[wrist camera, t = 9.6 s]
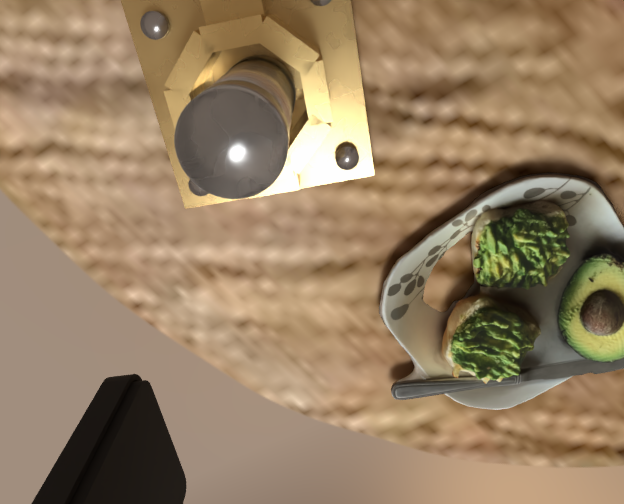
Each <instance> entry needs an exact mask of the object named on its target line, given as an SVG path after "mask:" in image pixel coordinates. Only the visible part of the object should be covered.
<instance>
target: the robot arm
mask: <svg viewBox="0 0 624 504" xmlns="http://www.w3.org/2000/svg"><path fill="white" fill-rule="evenodd" d="M185 493H186V478H185V474H184V471H183V469H182V466H181V464H180V461H179V458H178V456H177V453H176V450H175V448H174V445H173V442H172V440H171V437H170V434H169V432H168V429H167V427H166V424H165V421H164V419H163V416H162V413H161V411H160V408H159V405H158V403H157V400H156V398H155V395H154V392H153V389H152V387H151V385H150V383H149V382H148V381H146V380H145V381H142V379H141V378H140V376H138V375H136V374H133V375H124V376H115V377H109V378H106V379H105V380H104V382H103V383H102V385H101V386H100V388H99V390H98V391H97V393H96V395H95V397H94V398H93V400H92V402H91V403H90V405H89V407H88V408H87V410H86V412H85V414H84V415H83V417H82V419H81V420H80V422H79V424H78V426H77V427H76V429H75V431H74V432H73V434H72V436H71V437H70V439H69V441H68V443H67V444H66V446H65V448H64V450H63V451H62V453H61V455H60V456H59V458H58V460H57V461H56V463H55V465H54V467H53V468H52V470H51V472H50V473H49V475H48V477H47V478H46V480H45V482H44V484H43V485H42V487H41V489H40V491H39V492H38V494H37V495H36V497H35V499H34V501H33V502H32V504H183V501H184V498H185Z"/></svg>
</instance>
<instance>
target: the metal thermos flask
mask: <svg viewBox="0 0 624 504" xmlns="http://www.w3.org/2000/svg"><path fill="white" fill-rule="evenodd" d="M295 99H296V89H295V84H294V81H293V78H292V76H291V74H290V73H289V71H288V70H287V69H286V67H285V66H284V65H283V64H281V63H280V62H279V61H277V60H275V59H273V58H271V57H268V56H263V55H254V56H249V57H246V58H244V59H242V60H240V61H239V62H237V63H236V64H235V65H234V66H233V67H231V68H230V69H229V70H228V71H227V73H226V74H225V75H223V76H222V77H221V78H220V79H219V80H217V81H216V82H215V83H214V84H213V85H211V86H209V87H208V88H206V89H205V90H203V91H202V92H201V93H200V94H199V95H197V96H196V97H195V98H194V99H192V100H191V101H190V102H189V103H188V104H187V105H186V107H185V108H184V109H183V111H182V112H181V114H180V116H179V118H178V121H177V124H176V128H175V134H174V144H175V151H176V155H177V158H178V161H179V163H180V165H181V167H182V169H183V170H184V172H185V173H186V175H187V176H188V177H189V178H190V179H191V181H192V182H193V183H195V184H196V185H197V186H198V187H200V188H201V189H202V190H204V191H206V192H208V193H210V194H212V195H215V196H217V197H221V198H226V199H243V198H248V197H252V196H255V195H257V194H259V193H261V192H263V191H265V190H266V189H267V188H269V187H270V186H271V185H272V184H273V183H274V182H275V181H276V180H277V178H278V177H279V175H280V174H281V172H282V170H283V168H284V165H285V163H286V159H287V153H288V147H289V139H290V126H291V119H292V113H293V110H294V106H295Z"/></svg>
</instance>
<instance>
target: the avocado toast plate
mask: <svg viewBox="0 0 624 504" xmlns="http://www.w3.org/2000/svg"><path fill="white" fill-rule="evenodd" d="M471 231H472V232H473V233H472V239H471V248H472V262H473V271H474V283H473V285H472V286H471V287H470V289H469V290H468V292H467V293H466V295H465V296H464V297H463V299H462V300H457V301H454V302H453V303H452V305H451V306H450V307H449V309H448V310H447V311H446V312H439V311H437V310H435V309H433V308H432V307H430V306H429V305H428V304H426V303H425V302H424V301H423V294H424V288H425V284H426V281H427V279H428V278H429V275H430V273H431V271H432V269H433V267H434V265H435V264H436V262H437V261H438V260H439V259H440V258H441V257H442V256H443V255H444V253H445V252H446V251H447V250H448V249H449V248H450V247H452V246H453V245H454V244H456V243H457V242H458V241H459V240H460V239H461V238H463V237H464V236H465V235H467V234H468V233H469V232H471ZM379 314H380V316H381V318H382V320H383V322H384V324H385V325H386V327H387V328H388V329H389V330H390V331H391V333H392V334H393V336H394V337H395V338H396V339H397V341H398V342H399V344H400V345H401V346H402V347H403V348H404V349H405V351H406V352H407V353H408V354H409V355H410V357H411V359H412V361H413V363H414V366H415V368H414V370H413V372H412V373H411V374H410V375H408V376H406V377H405V378H403V379H400V380H398V381H396V382H395V383H393V385H392V388H391V392H392V396H393V397H394V398H395V399H400V400H406V399H413V398H420V397H427V396H433V395H439V394H445V395H446V396H449V397H450V398H452V399H453V400H455V401H456V402H459V403H461V404H463V405H466V406H470V407H476V408H483V409H495V410H498V409H507V408H510V407H513V406H516V405H518V404H520V403H523V402H525V401H527V400H530V399H532V398H534V397H535V396H537V395H539V394H541V393H543V392H545V391H547V390H548V389H550V388H552V387H554V386H556V385H558V384H560V383H562V382H563V381H565V380H567V379H569V378H570V377H572V376H575V375H583V374H586V373H594V374H598V373H605V372H610V371H615V370H619V369H623V368H624V226H623V225H622V223H621V222H620V220H619V218H618V216H617V214H616V211H615V209H614V207H613V204H612V203H611V202H610V201H609V200H608V198H607V197H606V196H605V194H604V192H603V190H602V189H601V187H600V186H599V185H598V184H597V183H596V182H594V181H592V180H590V179H587V178H584V177H581V176H577V175H570V174H561V173H539V174H531V175H526V176H522V177H519V178H516V179H514V180H511V181H508V182H505V183H503V184H500V185H498V186H496V187H494V188H492V189H490V190H488V191H486V192H484V193H483V194H481V195H480V196H479V197H477V198H476V199H475V200H474V201H473V202H472V203H471V205H470V206H469V207H467V208H466V209H465V210H463V211H462V212H460V213H459V214H457V215H456V216H455V217H453V218H452V219H450V220H449V221H447V222H445V223H444V224H442V225H441V226H439V227H438V228H436V229H434V230H433V231H432V232H431V233H429V234H428V235H427V236H426V237H425V238H424V239H423V240H421V241H420V242H419V243H418V244H416V245H415V246H414V247H413V248H412V249H411V250H410V251H408V252H407V253H406V254H404V255H403V256H401V257H400V258H399V259H398V260H397V261H396V263H395V264H394V266H393V267H392V269H391V271H390V273H389V274H388V276H387V278H386V280H385V281H384V284H383V290H382V294H381V301H380V306H379Z"/></svg>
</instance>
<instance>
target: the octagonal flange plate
mask: <svg viewBox="0 0 624 504" xmlns="http://www.w3.org/2000/svg"><path fill="white" fill-rule="evenodd" d="M121 3H122V6H123V9H124V12H125V16H126V19H127V22H128V25H129V29H130V32H131V35H132V38H133V42H134V45H135V48H136V51H137V54H138V58H139V61H140V64H141V67H142V71H143V74H144V77H145V80H146V84H147V87H148V90H149V93H150V96H151V100H152V103H153V106H154V109H155V113H156V116H157V119H158V122H159V125H160V129H161V132H162V135H163V138H164V142H165V145H166V148H167V151H168V155H169V158H170V161H171V164H172V167H173V171H174V174H175V177H176V180H177V184H178V187H179V190H180V193H181V197H182V200H183V203H184V206H185V209H188V208H193V207H199V206H205V205H210V204H216V203H222V202H227V201H233V200H238V199H226V198H221V197H217V196H215V195H212V194H210V193H208V192H206V191H204V190H202V189H201V188H200V187H198V186H197V185H196V184H195V183H193V182H192V181H191V179H190V178H189V177H188V176H187V175H186V173H185V172H184V170H183V169H182V167H181V165H180V163H179V161H178V158H177V155H176V151H175V144H174V134H175V128H176V124H177V121H178V118H179V116H180V114H181V112H182V111H183V109H184V108H185V107H186V105H187V104H188V103H189V102H190V101H191V100H192V99H194V98H195V97H196V96H197V95H199V94H200V93H201V92H202V91H203V90H205V89H206V88H208V87H209V86H211V85H213V84H214V83H215V82H216V81H217V80H219V79H220V78H221V77H222V76H223V75H225V74H226V73H227V71H228V70H229V69H230V68H231V67H233V66H234V65H235V64H236V63H237V62H239V61H240V60H242V59H244V58H246V57H249V56H254V55H263V56H268V57H271V58H273V59H275V60H277V61H279V62H280V63H281V64H283V65H284V66H285V67H286V69H287V70H288V71H289V73H290V74H291V76H292V78H293V81H294V84H295V89H296V99H295V106H294V110H293V113H292V119H291V126H290V139H289V147H288V153H287V159H286V163H285V165H284V168H283V170H282V172H281V174H280V175H279V177H278V178H277V180H276V181H275V182H274V183H273V184H272V185H271V186H270V187H269V188H267V189H266V190H265V191H263V192H261V193H259V194H257V195H255V196H252V197H248V198H249V199H250V198H255V197H261V196H267V195H272V194H278V193H283V192H289V191H295V190H300V189H301V188H306V187H312V186H317V185H323V184H329V183H334V182H340V181H346V180H351V179H357V178H363V177H368V176H374V175H375V174H374V167H373V159H372V152H371V145H370V137H369V130H368V123H367V115H366V108H365V101H364V93H363V86H362V79H361V71H360V64H359V57H358V49H357V42H356V35H355V27H354V20H353V13H352V5H351V0H121ZM243 199H244V198H243Z"/></svg>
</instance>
